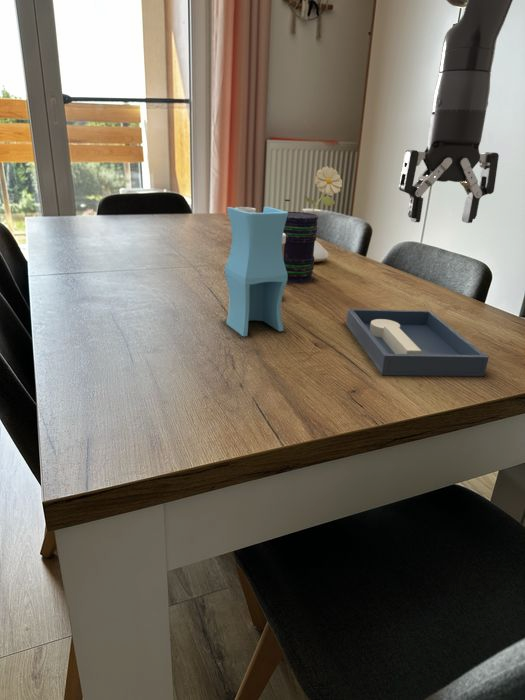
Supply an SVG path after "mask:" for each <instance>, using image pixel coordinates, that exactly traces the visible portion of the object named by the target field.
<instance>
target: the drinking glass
mask: <svg viewBox="0 0 525 700" xmlns="http://www.w3.org/2000/svg"><path fill="white" fill-rule="evenodd" d="M234 208H235V209H239V210H242V211H245V212H253V213H256V210H257V209H256V207H249V206H235V207H234Z"/></svg>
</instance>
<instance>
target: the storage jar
mask: <svg viewBox="0 0 525 700" xmlns="http://www.w3.org/2000/svg"><path fill="white" fill-rule="evenodd" d="M284 202H291V199H286V198H285V199H284ZM287 212H288V215H287V219H286V222H285V226H284V231H283V233H284V234H286V242H285V245H284V258H283V260H284V264H285V268H286V271H287V275H288V278H287V283H286V284H308V283H310V282H312V281H313V274H314V269H315V268H314V267H315V262H314V256H313V254H314V243H315V240H316V241H317V233H318V219H319V215H318V216H317V215H315V214H310V213H304V211H303V212H302V211H287Z"/></svg>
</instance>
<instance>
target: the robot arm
mask: <svg viewBox="0 0 525 700" xmlns="http://www.w3.org/2000/svg"><path fill="white" fill-rule="evenodd" d="M513 1H514V0H446V2H447V3H448V4H450V5H451V6H452V7H455V8H460V9H464V11H463V14H462V16H461V18H460V19H459V21H458V22H457V23H456V24H454V25H453V26H452V27H450V28H449V29H448V30H447V31H446V33H445V36H444V39H443V42H442V49H441V57H440V64H439V70H438V75H437V76H438V77H437V81H436V85H435V88H434V93H433V100H432V107H431V115H430V121H429V128H428V134H427V146H426V148H425V150H424V151H418V150H416V149H408V150H406V151H405V152H404V157H403V161H402V166H401V167H402V168H401V173H400V179H399V184H398V190H399V191H401V192H403V193H405V194H408V196H409V203H408V210H407V216H408V218H410V221H411V222H413V223H420V222H421V217H422V210H423V205H424V197H423V196H424V194H425V193H426V191H427V190H428V189H429V188H430V187H431V186H433V185H435V183H436V182H442V183H443V182H444V183H445V182H453V183H459V184H460V185H461V186H462V187H463V189H464V191H465V193H466V194H467V196H466V197H465V200H464V204H463V205H464V206H463V211H462V216H461V221H462V222H463V223H466V224H472V223H473V221H474V220H475V219H476V218H477V215H478V210H479V205H480V199H481V198H482V197H485V196H486V195H492V194H493V193H494V192H495V187H496V179H497V172H498V164H499V157H500V156H499V155H500V154H499V153H498V152H492V151H491V152H490V151H487V152H485V153H480V149H479V147H480V144H481V142H482V137H483V132H484V126H485V120H486V115H487V110H488V109H487V108H488V106H489V98H490V91H491V78H492V70H493V65H494V59H495V53H496V46H497V41H498V37H499V36H500V33H501V31H502V28H503V27H504V25H505V24H504V23H505V22H506V19H507V17H508V14H509V11H510V9H511V6H512V4H513ZM422 161H423V163H424V165H425V167H426V168H425V169H424V171H422V173H421V174H420V176H418V178H417V181H415V175H416V171H417V167H419V165H421V162H422ZM478 164H479V167H480V168H481V169H480V175H479V176H480V177H479V181H478V178H477V176H476V174H475V172H474V170H473V169H474V168H475V167H476V165H478ZM414 181H415V183H414Z"/></svg>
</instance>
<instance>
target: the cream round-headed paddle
mask: <svg viewBox="0 0 525 700" xmlns="http://www.w3.org/2000/svg"><path fill="white" fill-rule="evenodd" d="M370 332H371V333H372V334H373V335H374V336H376V337H380V338H382V339H383V340H384V341H385V342H386V343H387V345H388V346H389V347H390V348H391V349H392V351H393V352H394V353H395V354H421V350H420V349H419V348H418V347H417V346H416V345H415V344H414V343H413V341H412V340H411V339H410V338H409V337H408V336H407V335H406V334H405V333H404V332H403V331H402V330H401V329H400V324H399V323H397V322H395V321H392V320H387V319H375V320H372V321H371V324H370Z"/></svg>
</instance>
